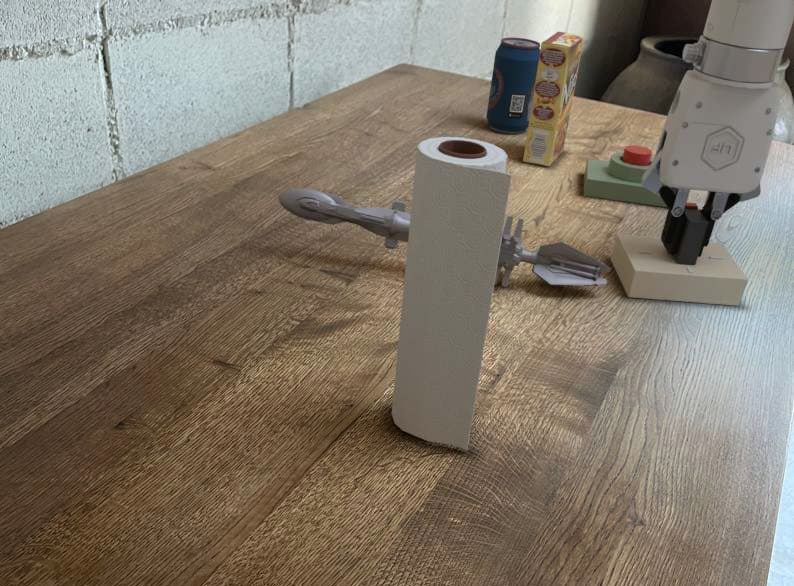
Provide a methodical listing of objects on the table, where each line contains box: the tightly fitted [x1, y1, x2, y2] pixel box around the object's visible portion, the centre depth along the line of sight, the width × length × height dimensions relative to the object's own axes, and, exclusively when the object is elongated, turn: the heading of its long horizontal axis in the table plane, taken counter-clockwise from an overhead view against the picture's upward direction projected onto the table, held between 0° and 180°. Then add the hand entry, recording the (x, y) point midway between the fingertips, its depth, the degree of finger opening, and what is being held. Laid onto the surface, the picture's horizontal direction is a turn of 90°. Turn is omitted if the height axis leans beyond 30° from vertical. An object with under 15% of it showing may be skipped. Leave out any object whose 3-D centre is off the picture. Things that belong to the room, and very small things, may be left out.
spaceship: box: [278, 187, 612, 288], centre depth 95 cm, size 8×35×8 cm
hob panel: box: [610, 233, 749, 307], centre depth 100 cm, size 12×10×3 cm
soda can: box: [486, 37, 541, 135], centre depth 138 cm, size 7×7×12 cm
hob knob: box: [672, 202, 708, 265], centre depth 97 cm, size 5×2×5 cm, turn 0°
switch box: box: [583, 152, 670, 209], centre depth 122 cm, size 12×9×4 cm
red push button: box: [622, 145, 653, 166], centre depth 121 cm, size 4×4×2 cm
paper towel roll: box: [391, 136, 513, 452], centre depth 67 cm, size 7×6×21 cm
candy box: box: [522, 31, 585, 167], centre depth 127 cm, size 9×4×15 cm, turn 159°
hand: (681, 249), depth 98 cm, fingers closed on hob knob, 2 cm apart
